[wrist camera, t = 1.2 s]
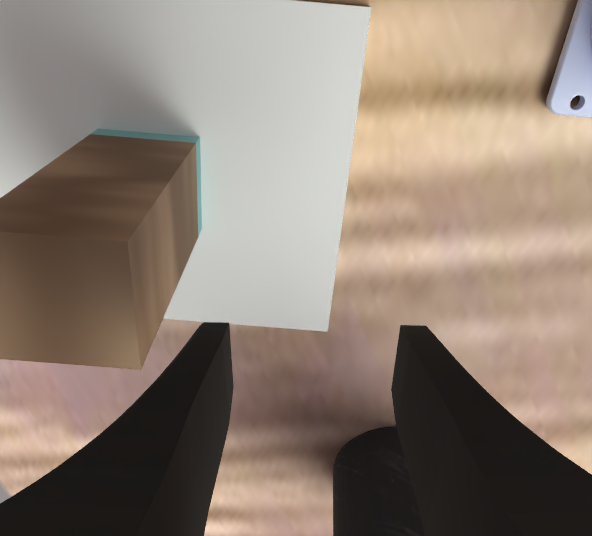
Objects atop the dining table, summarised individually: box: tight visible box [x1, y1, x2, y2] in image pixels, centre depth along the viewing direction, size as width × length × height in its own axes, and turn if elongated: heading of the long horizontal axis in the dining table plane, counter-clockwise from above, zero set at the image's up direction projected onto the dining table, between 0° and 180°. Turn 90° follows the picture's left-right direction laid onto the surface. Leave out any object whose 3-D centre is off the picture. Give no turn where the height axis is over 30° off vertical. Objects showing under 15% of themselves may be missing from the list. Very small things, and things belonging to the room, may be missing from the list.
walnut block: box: [0, 129, 202, 370], centre depth 17 cm, size 4×4×9 cm
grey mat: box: [0, 0, 371, 332], centre depth 21 cm, size 18×14×1 cm
